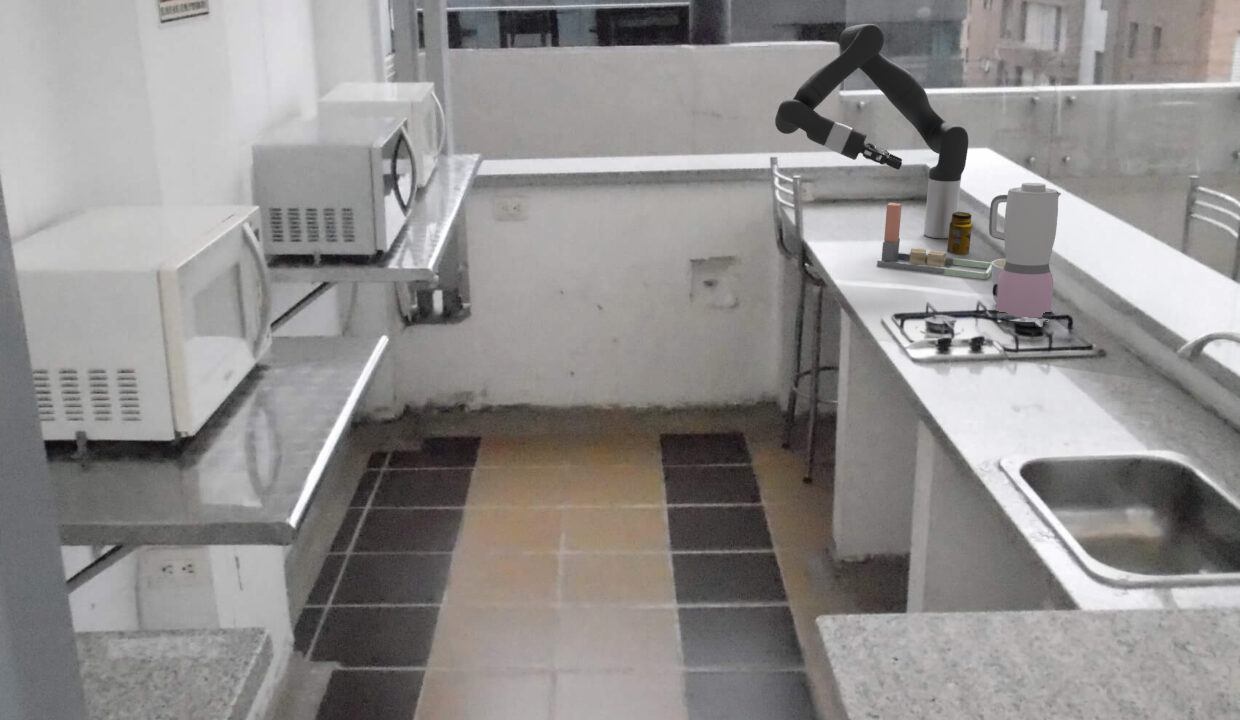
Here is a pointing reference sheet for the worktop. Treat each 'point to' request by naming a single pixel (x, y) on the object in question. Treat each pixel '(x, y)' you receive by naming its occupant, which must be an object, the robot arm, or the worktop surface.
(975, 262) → the tray
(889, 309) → the worktop surface
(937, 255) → the chip
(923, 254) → the wooden cube
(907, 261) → the slot board
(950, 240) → the condiment
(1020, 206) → the blender
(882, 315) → the worktop surface
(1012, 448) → the worktop surface
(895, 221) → the pink and grey block
